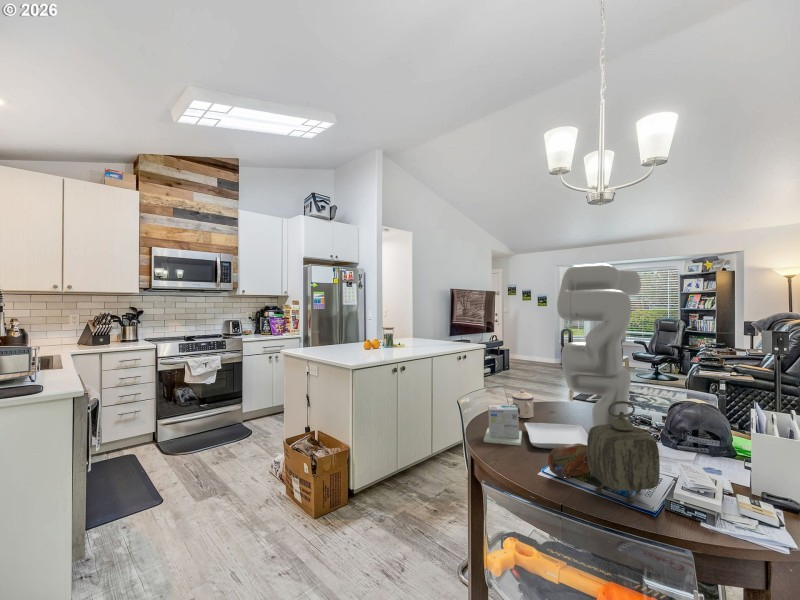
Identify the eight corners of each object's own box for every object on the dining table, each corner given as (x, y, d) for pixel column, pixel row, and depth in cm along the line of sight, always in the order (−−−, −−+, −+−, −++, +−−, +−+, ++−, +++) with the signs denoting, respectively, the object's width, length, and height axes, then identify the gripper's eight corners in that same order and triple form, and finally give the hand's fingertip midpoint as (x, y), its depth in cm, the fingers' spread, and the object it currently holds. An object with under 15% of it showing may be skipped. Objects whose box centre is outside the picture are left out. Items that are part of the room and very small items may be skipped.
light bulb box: (516, 432, 144) (516, 404, 144) (519, 439, 137) (519, 409, 137) (488, 431, 145) (487, 404, 146) (489, 438, 139) (489, 408, 139)
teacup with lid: (509, 413, 171) (508, 388, 171) (528, 412, 172) (527, 387, 172) (520, 422, 159) (519, 394, 159) (540, 420, 160) (540, 393, 160)
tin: (554, 480, 107) (552, 451, 107) (546, 476, 110) (545, 447, 110) (596, 472, 111) (595, 443, 111) (588, 468, 114) (587, 440, 114)
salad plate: (598, 455, 125) (597, 444, 125) (531, 451, 129) (530, 441, 129) (580, 433, 146) (580, 424, 146) (523, 430, 150) (523, 422, 150)
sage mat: (520, 445, 133) (520, 442, 133) (483, 441, 138) (483, 439, 138) (521, 433, 146) (521, 430, 146) (487, 430, 150) (487, 427, 150)
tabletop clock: (640, 488, 102) (637, 396, 102) (665, 507, 92) (662, 405, 93) (587, 491, 101) (585, 398, 101) (607, 509, 92) (604, 407, 92)
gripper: (631, 310, 125) (632, 361, 125) (620, 309, 142) (621, 354, 141) (606, 310, 128) (607, 361, 128) (597, 309, 144) (599, 354, 144)
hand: (614, 357), depth 135 cm, fingers open, 9 cm apart
